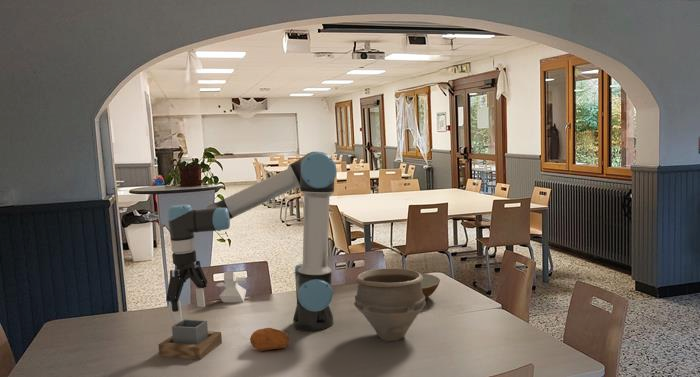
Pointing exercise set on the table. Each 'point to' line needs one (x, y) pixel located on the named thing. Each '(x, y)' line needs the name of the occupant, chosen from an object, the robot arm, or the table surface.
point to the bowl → (429, 284)
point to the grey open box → (190, 332)
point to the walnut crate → (190, 347)
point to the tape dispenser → (232, 288)
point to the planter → (390, 300)
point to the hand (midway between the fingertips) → (190, 313)
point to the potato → (269, 339)
